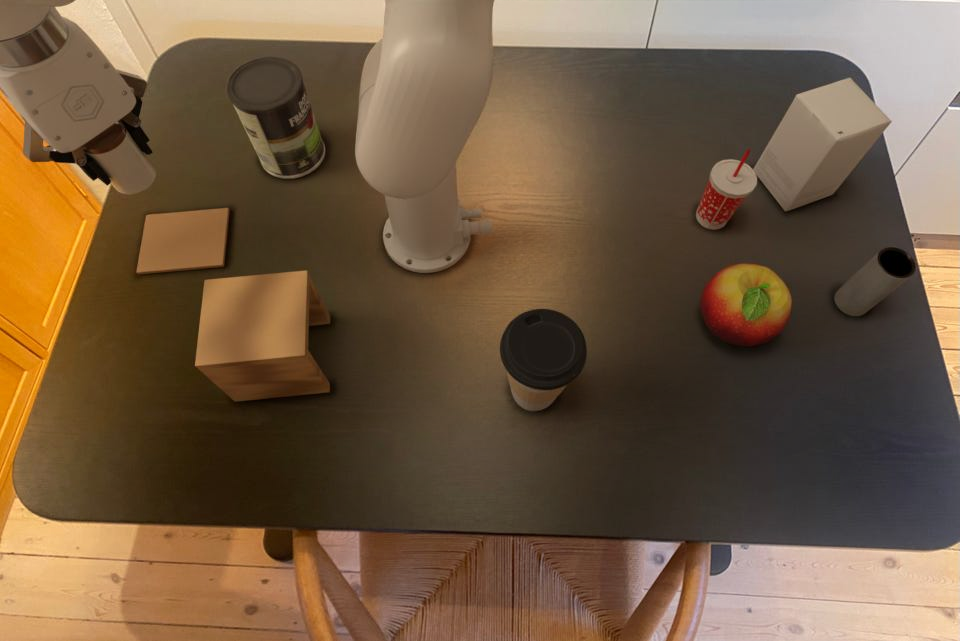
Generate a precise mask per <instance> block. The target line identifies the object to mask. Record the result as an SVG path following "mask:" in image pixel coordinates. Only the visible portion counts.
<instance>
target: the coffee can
mask: <svg viewBox="0 0 960 641" xmlns="http://www.w3.org/2000/svg"><path fill="white" fill-rule="evenodd" d="M225 92H226V95H227V97H228V99H229V101H230V102H231V104H232V105H233V107H234V109H235V111H236V114H237V116H238V118H239V120H240V122H241V125H242V126H243V128H244V130H245V132H246V135H247V136H248V139H249V141H250V143H251V145H252V146H253V149H254V151H255V153H256V155H257V157H258V160H259V162H260V165H261V167H262V168H263V170H264V171H266V172H267V173H268V174H269V175H271V176H273V177H276V178H278V179H284V180H286V179H287V180H291V179H298V178H302V177H304V176H307V175H309V174H311V173H313V171H315V170H316V169H318V168H319V166H320V165H321V164H322V163H323V161H324V158H325V156H326V146H325V143H324V140H323V138H322V135H321V132H320V128H319V125H318V122H317V120H316V116H315V114H314V112H313V107H312V104H311V101H310V98H309V95H308V92H307V89H306V86H305V83H304V79H303V74H302V72H301V70H300V68H299V66H298V65H297V64H295V63H294V62H293V61H291V60H289V59H287V58H284V57H280V56H261V57H260V56H259V57H257V58H253V59H250V60H247V61H245V62H244V63H242V64H240V65H239V66H238V67H236V68H235V69H234V70H233V71H232V72H231V73H230V75H229V76H228V78H227V80H226V84H225Z"/></svg>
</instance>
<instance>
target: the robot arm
mask: <svg viewBox="0 0 960 641" xmlns="http://www.w3.org/2000/svg"><path fill="white" fill-rule="evenodd" d="M74 2H76V0H0V92H1V93H2V94H3V95H4V96H5V98H6V100H7V101H8V102H9V103H10V105H11V106H12V107H13V109H14V110H15V111H16V113H17V114H18V115H19V116H20V117H21V119H22V120H23V121H24V127H23V128H24V129H23V130H24V131H23V143H22V144H23V145H22V155H23V156H24V157H26V159H28V160H29V161H30V162H32V163H49V162H54V163H56V164H57V163H58V164H75V165H77V166H78V167H79V168H80V169H81V171H82V172H83V173H84V174H85V175H86V176H87V177H88V178H89V179H91V181H93V182H94V181H96V180H99V181H101V182H102V183H103V184H104V185H105V186H106V187H109V185H111V180H110V179H109V177H108V176H107V175H106V174H105V173H104V171H103V170H102V169H101V168H100V167H99V165H98V164H97V163H96V162H95V161H94V160H93V159H92V158H91V157H90V156H88V155H87V154H86V153H85V152H84V150H83V147H82V145H84V144H85V143H87V142H88V141H90V140H91V139H93V138H94V137H96V136H97V135H98V134H100V133H101V132H103V131H104V130H106V129H107V128H109V127H110V126H111V125H113V124H114V123H116V122H117V121H119V120H120V119H121V121H122V122H123V123H124V125H125V127H126V129H127V131H128V132H129V133H130V135H131V136H132V138H133V139H134V140H135V142H136V143H137V145H138V146H139V147H140V149H141V150H142V152H143V153H144V154H145V156H150V155H151V154H153V153H154V151H153V150H152V149H151V147H150V146H149V144H148V143H149V142H150V138H149V137H148V135H147V133H146V132H145V131H144V129H143V128H142V126H141V125H142V120H141V119H140V115H141V111H142V106H143V100H142V99H143V98H144V96H145V93H146V89H147V88H148V87H147V86H148V82H147V80H145V79H144V78H143V77H141V76H140V75H138V74H134V73H131V72H127V71H124V70H121V69H116V67H115V66H114V65H113V64H112V62H111V61H110V59H108V57H107V56H106V54H104V52H103V51H102V49H101V48H100V47H99V46H98V45H97V44H96V43H95V42H94V40H93V39H92V38H91V37H90V36H89V35H88V34H87V32H85V31H84V29H83V28H81V27H80V26H79V25H78V23H77V22H75V21H72V20H70V19H69V18H67V17H66V16H65V17H64V16H62V15H61V13H60V12H59V11H58V10H57V8H59V7H65V6H68V5H71V4H73V3H74ZM494 3H495V0H385V7H384V15H383V28H382V37H381V39H380V40H378V41H377V42H376V43H375V44H374V45H373V46H372V48H371V49H370V51H369V52H368V54H367V56H366V58H365V61H364V64H363V67H362V70H361V77H360V84H359V92H358V93H359V94H358V105H357V112H358V113H357V122H356V131H355V145H354V156H355V157H354V158H355V161H356V166H357V168H358V170H359V172H360V175H361V176H362V178H363V179H364V180H365V181H366V182H367V184H368V185H369V186H370V187H371V188H372V189H374V190H375V191H377V192H379V193H380V194H382V195H383V196H384V200H385V205H386V210H387V213H388V218H387V219H386V220H385V224H384V226H383V232H382V240H383V244H384V248H385V251H386V253H387V255H388V256H389V257H390V258H391V260H392V261H393V262H394V263H395V264H397V265H398V266H400V267H401V268H403V269H405V270H407V271H410V272H414V273H420V274H431V273H437V272H441V271H443V270H447V269H448V268H450V267H453V266H454V265H456V264H457V263H458V262H459V261H461V259H462V258H463V257H464V255H465V254H466V252H467V250H468V248H469V246H470V243H471V235H489V234H493V222H492V219H485V220H484V219H482V218H483V212H482V207H479V208H478V207H476V208H472V209H465V207H462V208H461V202H460V199H459V195H458V193H459V192H458V179H457V161H458V158H459V157H460V155H461V153H462V152H463V150H464V148H465V146H466V144H467V142H468V140H469V139H470V136H471V134H472V133H473V130H474V129H475V127H476V125H477V123H478V121H479V119H480V117H481V115H482V113H483V111H484V109H485V106H486V104H487V101H488V98H489V95H490V91H491V87H492V82H493V76H494V43H493V40H494V38H493V12H494ZM44 142H45V143H46V144H47V145H46V146H44ZM469 219H481V220H478V221H469Z"/></svg>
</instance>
